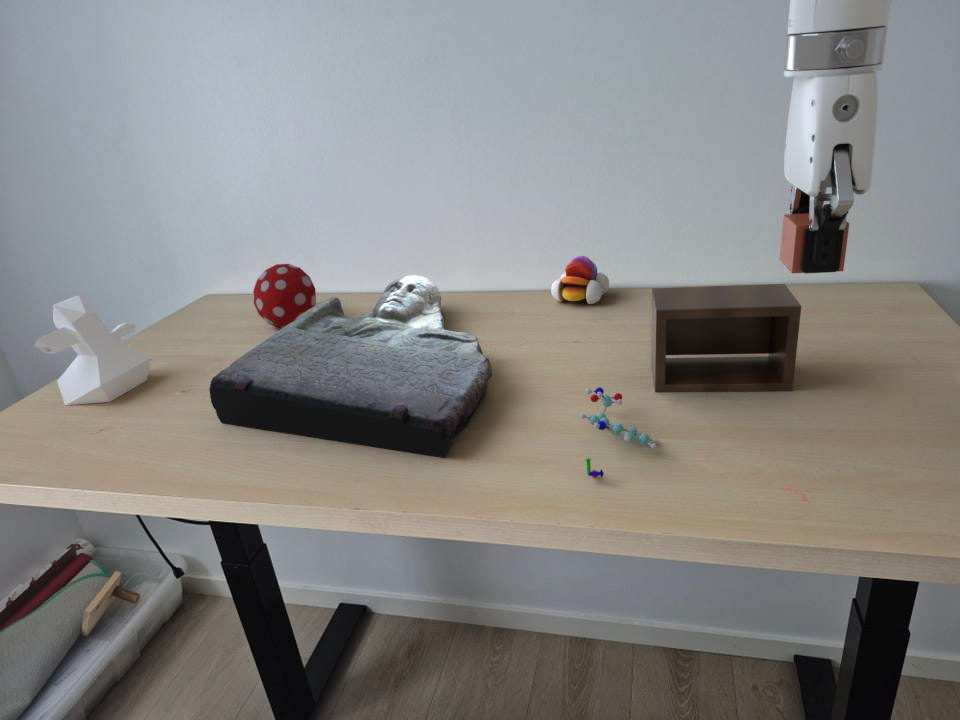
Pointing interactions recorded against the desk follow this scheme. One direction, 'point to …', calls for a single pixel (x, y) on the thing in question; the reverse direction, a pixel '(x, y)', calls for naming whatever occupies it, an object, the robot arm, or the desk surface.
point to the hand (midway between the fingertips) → (811, 261)
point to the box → (800, 241)
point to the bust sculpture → (361, 375)
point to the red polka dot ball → (283, 294)
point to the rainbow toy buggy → (580, 282)
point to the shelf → (724, 338)
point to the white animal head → (93, 355)
